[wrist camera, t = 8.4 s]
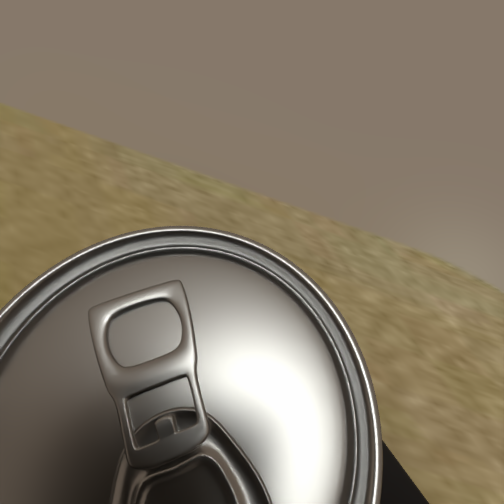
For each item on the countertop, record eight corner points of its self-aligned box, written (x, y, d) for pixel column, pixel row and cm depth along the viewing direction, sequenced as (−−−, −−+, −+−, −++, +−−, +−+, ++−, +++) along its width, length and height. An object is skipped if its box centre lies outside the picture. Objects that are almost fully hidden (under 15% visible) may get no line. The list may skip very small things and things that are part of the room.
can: (166, 547, 12) (-246, 1176, 2) (134, 380, 15) (-102, 272, 5) (315, 474, 14) (553, 616, 3) (259, 333, 17) (288, 165, 6)
